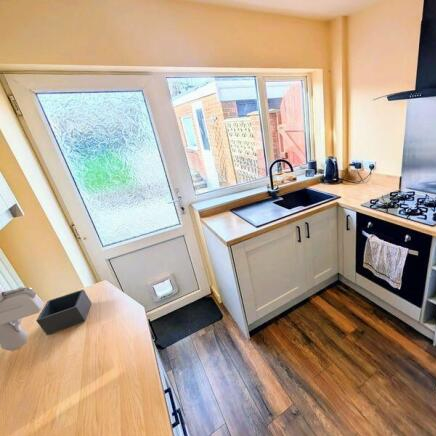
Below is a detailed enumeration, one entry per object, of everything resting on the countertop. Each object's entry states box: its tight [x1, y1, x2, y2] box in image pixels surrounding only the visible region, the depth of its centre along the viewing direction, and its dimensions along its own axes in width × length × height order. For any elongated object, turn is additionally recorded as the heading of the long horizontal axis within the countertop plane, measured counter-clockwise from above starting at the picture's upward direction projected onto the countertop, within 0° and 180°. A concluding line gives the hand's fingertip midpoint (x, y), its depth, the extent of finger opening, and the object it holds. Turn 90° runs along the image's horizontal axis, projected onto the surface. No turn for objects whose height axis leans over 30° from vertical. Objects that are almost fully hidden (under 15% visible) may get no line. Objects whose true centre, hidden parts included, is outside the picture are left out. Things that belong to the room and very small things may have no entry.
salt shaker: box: [0, 322, 29, 352], centre depth 74 cm, size 6×6×13 cm
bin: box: [36, 289, 92, 336], centre depth 103 cm, size 13×13×8 cm
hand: (9, 333), depth 74 cm, fingers closed on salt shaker, 3 cm apart
